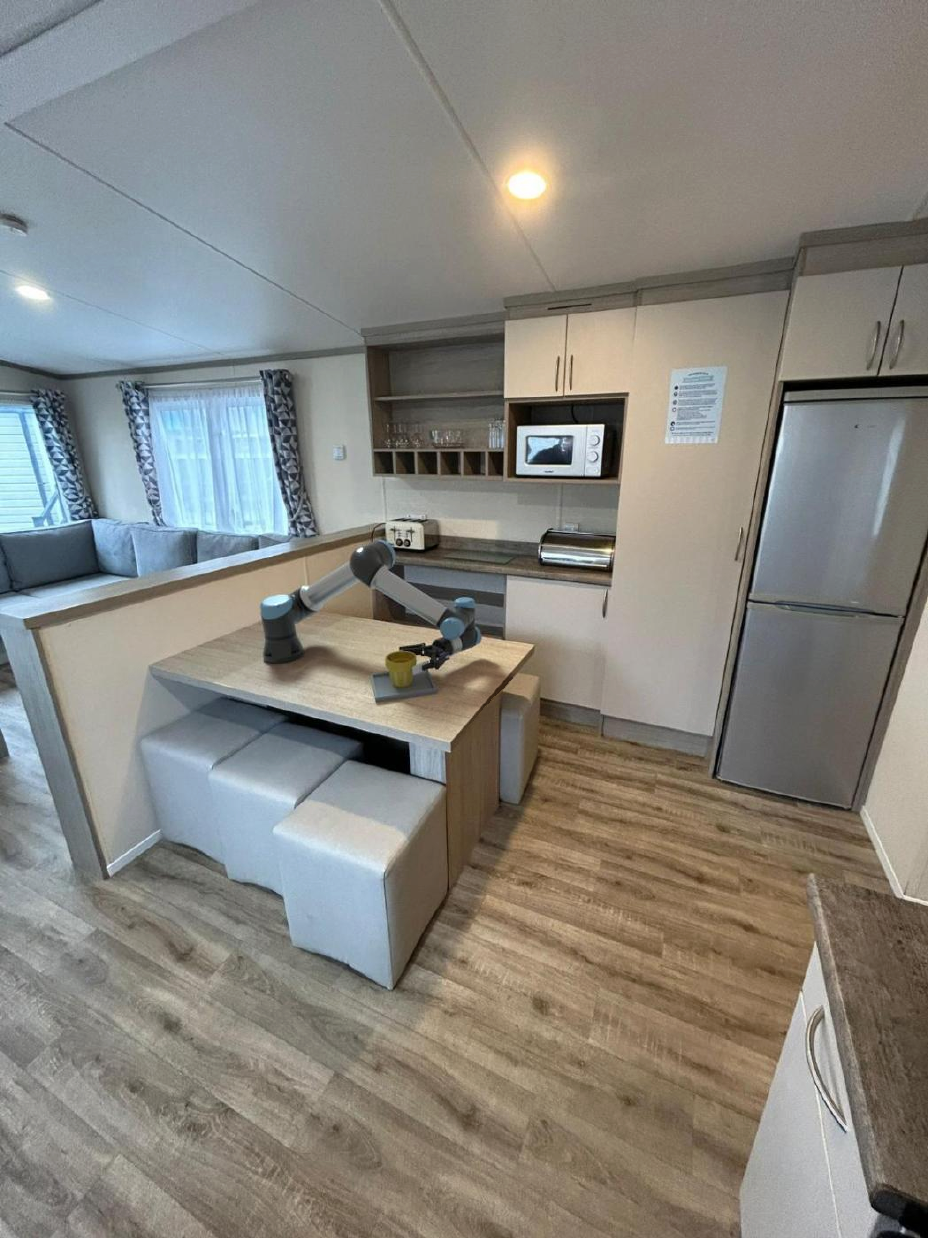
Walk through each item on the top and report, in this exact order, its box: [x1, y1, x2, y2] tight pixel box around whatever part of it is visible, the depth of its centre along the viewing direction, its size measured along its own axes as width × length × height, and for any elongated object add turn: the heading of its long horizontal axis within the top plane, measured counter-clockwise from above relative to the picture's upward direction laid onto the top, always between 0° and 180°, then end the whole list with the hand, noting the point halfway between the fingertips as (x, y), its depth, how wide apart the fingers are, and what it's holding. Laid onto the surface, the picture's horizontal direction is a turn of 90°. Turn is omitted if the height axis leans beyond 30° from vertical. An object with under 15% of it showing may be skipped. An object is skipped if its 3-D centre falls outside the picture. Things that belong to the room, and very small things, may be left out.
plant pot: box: [384, 650, 417, 687], centre depth 162 cm, size 10×10×10 cm
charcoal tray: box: [369, 669, 438, 704], centre depth 164 cm, size 20×18×2 cm
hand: (399, 664), depth 160 cm, fingers open, 13 cm apart
